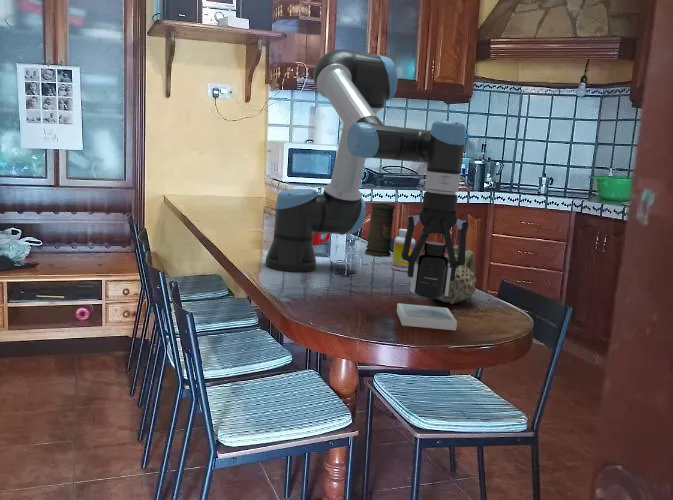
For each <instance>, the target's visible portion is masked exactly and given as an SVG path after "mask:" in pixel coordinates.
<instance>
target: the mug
mask: <svg viewBox="0 0 673 500" xmlns="http://www.w3.org/2000/svg"><path fill="white" fill-rule="evenodd" d="M331 235H332V234H327V233H326V235H325V237H324V238H322V233H313V239H312V245H313V246H320V245H321V243H326V242H328V241H329V239H330V238H331Z"/></svg>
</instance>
